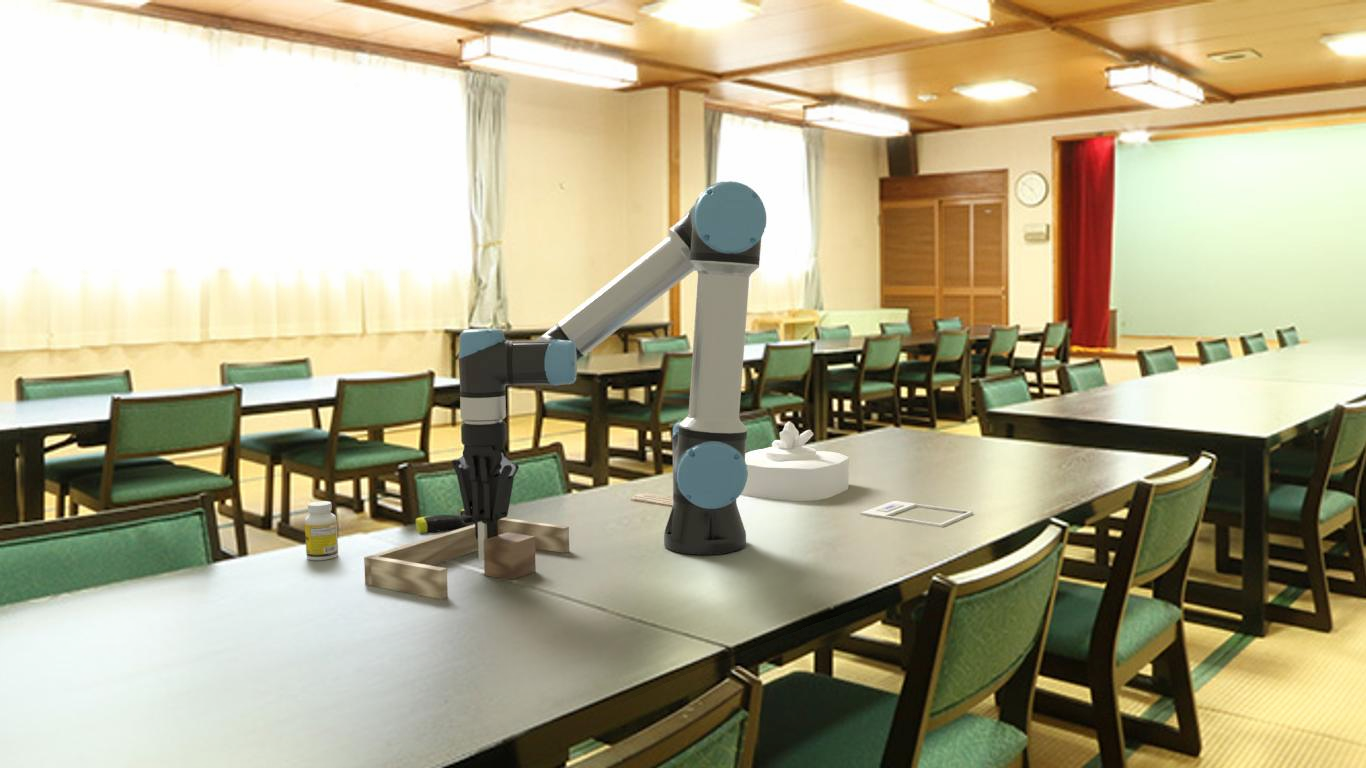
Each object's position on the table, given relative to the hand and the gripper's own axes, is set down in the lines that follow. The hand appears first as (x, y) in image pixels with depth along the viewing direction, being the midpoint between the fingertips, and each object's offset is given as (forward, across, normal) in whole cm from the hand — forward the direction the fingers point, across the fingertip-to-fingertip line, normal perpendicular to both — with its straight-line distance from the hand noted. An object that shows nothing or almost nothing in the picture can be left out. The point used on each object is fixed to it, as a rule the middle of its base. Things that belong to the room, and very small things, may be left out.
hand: (487, 558), depth 179 cm
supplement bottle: (+2, +31, +8) cm, 33 cm away
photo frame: (+3, -50, -75) cm, 90 cm away
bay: (+2, +3, 0) cm, 4 cm away
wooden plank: (+3, -2, -61) cm, 61 cm away
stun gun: (+3, +22, -19) cm, 29 cm away
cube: (+2, -5, 0) cm, 5 cm away
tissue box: (+2, -15, -88) cm, 89 cm away
